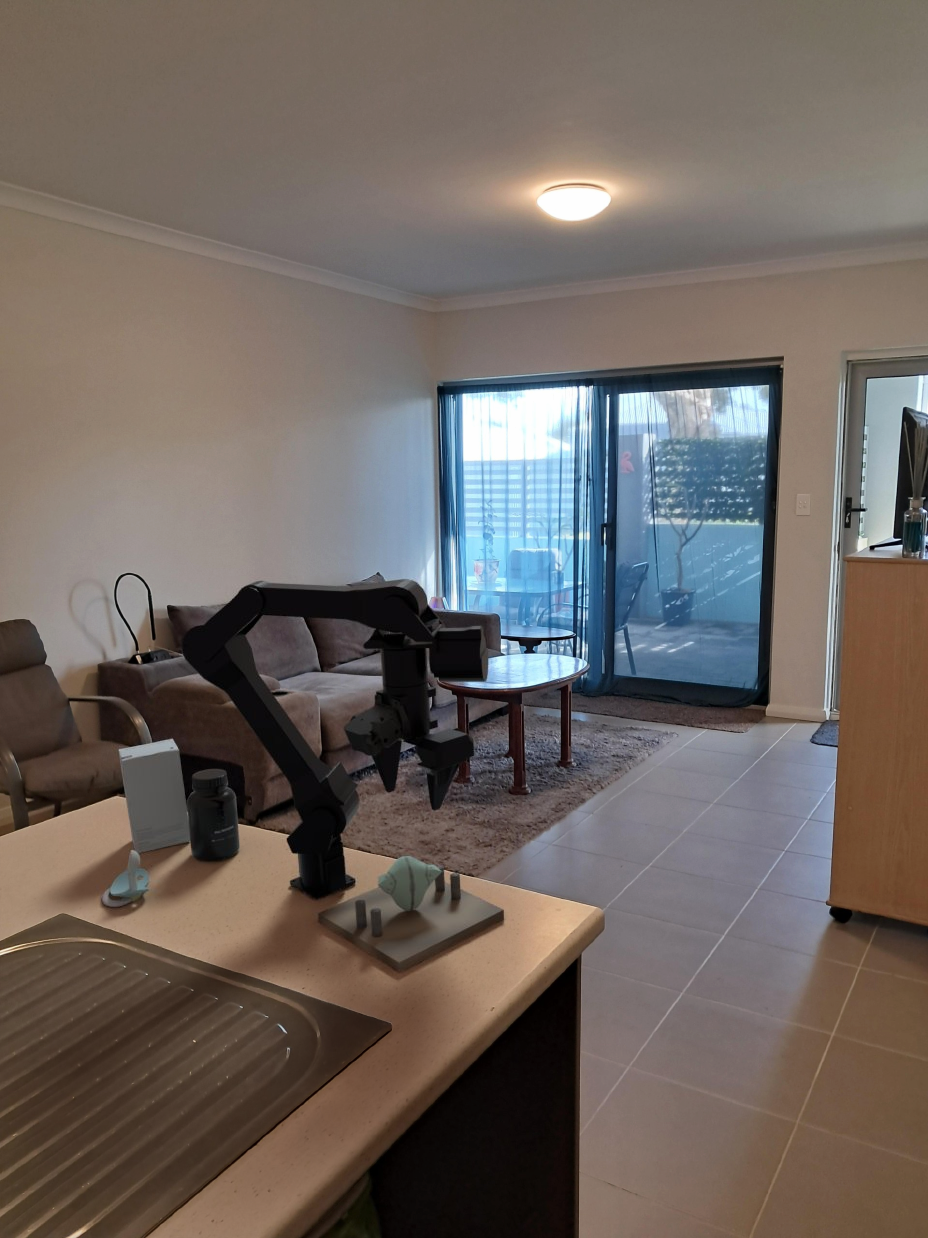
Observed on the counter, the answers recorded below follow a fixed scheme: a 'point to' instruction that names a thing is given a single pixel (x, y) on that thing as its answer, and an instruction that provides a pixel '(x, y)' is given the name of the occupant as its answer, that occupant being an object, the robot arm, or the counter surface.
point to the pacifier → (128, 883)
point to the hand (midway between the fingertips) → (412, 800)
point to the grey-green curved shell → (408, 881)
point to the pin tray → (411, 922)
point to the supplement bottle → (212, 817)
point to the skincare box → (155, 795)
